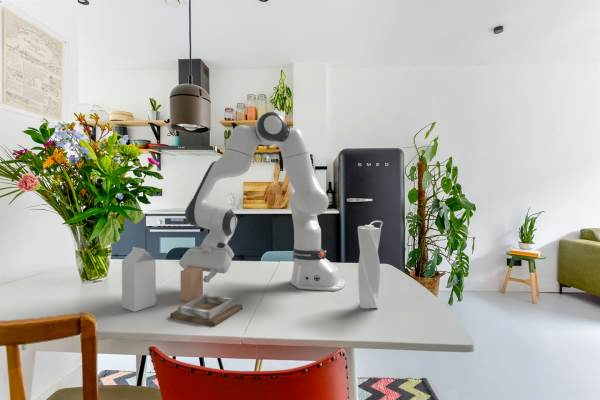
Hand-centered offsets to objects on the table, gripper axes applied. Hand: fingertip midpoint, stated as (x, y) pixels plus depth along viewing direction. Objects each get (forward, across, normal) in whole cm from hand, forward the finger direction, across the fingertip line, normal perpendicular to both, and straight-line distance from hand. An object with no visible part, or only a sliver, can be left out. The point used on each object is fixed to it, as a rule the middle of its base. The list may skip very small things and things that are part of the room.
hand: (194, 280), depth 108 cm
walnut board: (+12, +14, -3) cm, 19 cm away
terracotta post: (+5, 0, +3) cm, 6 cm away
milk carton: (+15, -10, -6) cm, 19 cm away
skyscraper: (-6, +59, +14) cm, 61 cm away
